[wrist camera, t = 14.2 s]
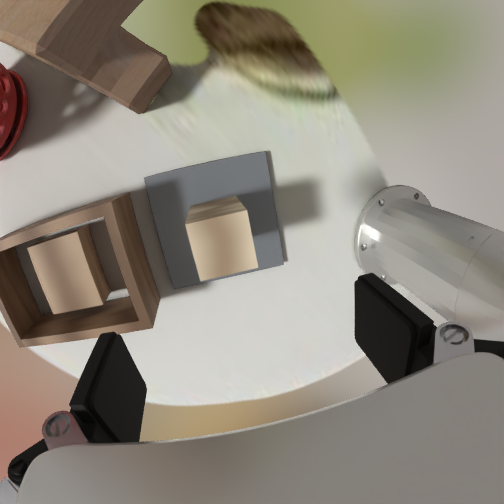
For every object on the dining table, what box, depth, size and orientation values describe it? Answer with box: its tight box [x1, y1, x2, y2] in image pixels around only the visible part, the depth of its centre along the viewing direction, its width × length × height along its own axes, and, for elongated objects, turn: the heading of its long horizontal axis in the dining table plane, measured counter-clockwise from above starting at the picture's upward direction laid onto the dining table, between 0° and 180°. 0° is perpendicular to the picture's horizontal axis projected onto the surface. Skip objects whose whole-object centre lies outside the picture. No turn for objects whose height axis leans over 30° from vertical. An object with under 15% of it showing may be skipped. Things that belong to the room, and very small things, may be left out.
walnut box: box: [0, 192, 160, 347], centre depth 25 cm, size 18×12×6 cm, turn 101°
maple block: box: [185, 196, 258, 281], centre depth 25 cm, size 4×4×8 cm
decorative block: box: [0, 0, 172, 114], centre depth 13 cm, size 11×6×20 cm, turn 54°
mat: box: [144, 152, 284, 289], centre depth 29 cm, size 12×12×1 cm
